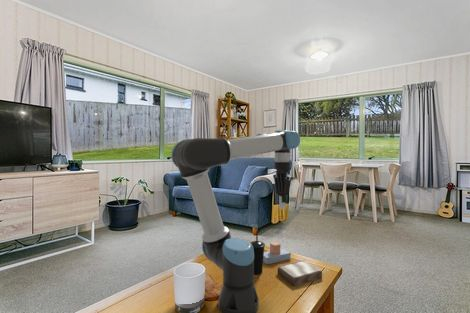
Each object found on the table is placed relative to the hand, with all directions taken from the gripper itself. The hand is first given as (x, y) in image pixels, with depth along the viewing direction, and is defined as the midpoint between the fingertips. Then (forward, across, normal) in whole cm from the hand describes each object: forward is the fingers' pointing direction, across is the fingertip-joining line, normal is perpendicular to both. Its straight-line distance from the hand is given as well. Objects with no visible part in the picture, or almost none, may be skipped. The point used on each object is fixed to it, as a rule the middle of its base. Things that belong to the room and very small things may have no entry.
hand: (282, 208), depth 121 cm
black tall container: (+30, +1, +14) cm, 33 cm away
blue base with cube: (+29, +9, -2) cm, 31 cm away
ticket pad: (+29, -10, -2) cm, 31 cm away
